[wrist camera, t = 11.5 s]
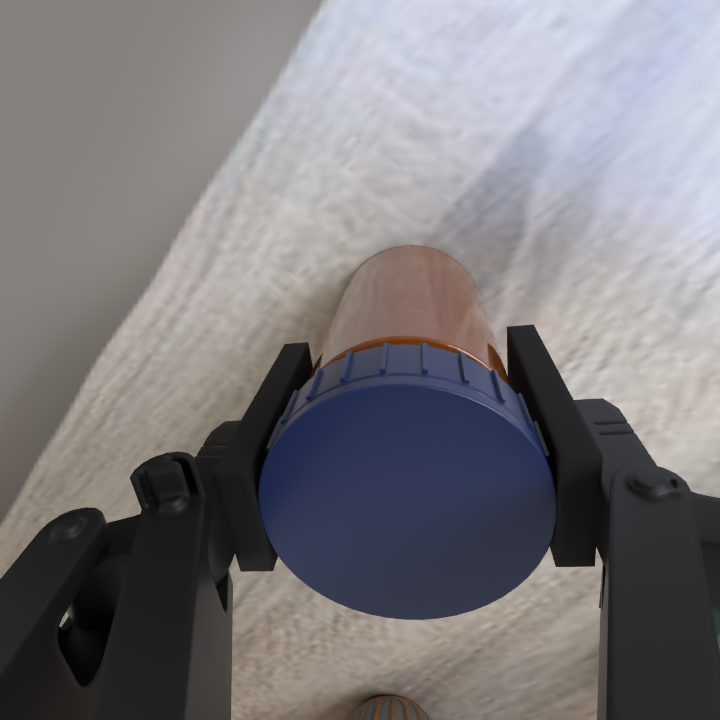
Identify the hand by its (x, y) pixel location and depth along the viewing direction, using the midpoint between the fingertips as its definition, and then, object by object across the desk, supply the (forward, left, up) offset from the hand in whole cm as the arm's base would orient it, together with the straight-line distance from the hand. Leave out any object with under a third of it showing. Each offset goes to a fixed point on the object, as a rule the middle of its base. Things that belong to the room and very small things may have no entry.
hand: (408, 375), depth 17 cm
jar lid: (0, 0, +6) cm, 6 cm away
